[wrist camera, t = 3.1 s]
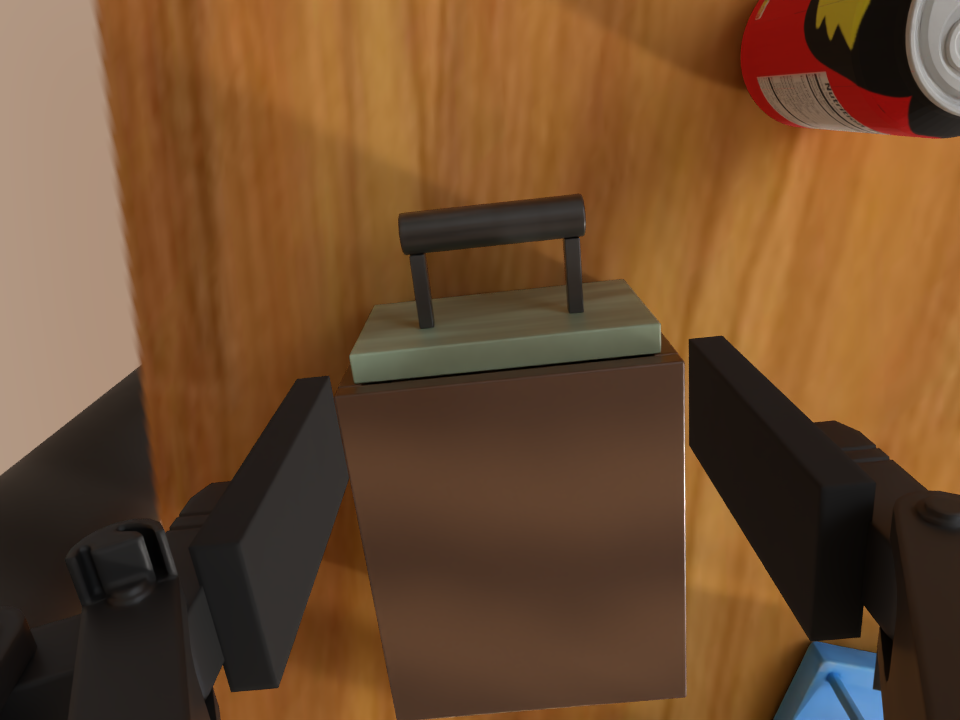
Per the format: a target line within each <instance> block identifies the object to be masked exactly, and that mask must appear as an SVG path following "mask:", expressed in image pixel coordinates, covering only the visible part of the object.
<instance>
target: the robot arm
mask: <svg viewBox="0 0 960 720" xmlns="http://www.w3.org/2000/svg"><path fill="white" fill-rule="evenodd" d="M689 446H690V447H691V449H692V451H693V452H694V454H695V455H696V457H697V459H698V460H699V462H700V463H701V465H702V467H703V468H704V470H705V472H706V473H707V475H708V476H709V478H710V480H711V481H712V483H713V484H714V486H715V488H716V489H717V491H718V493H719V494H720V496H721V497H722V499H723V501H724V502H725V504H726V506H727V507H728V509H729V510H730V512H731V514H732V515H733V517H734V518H735V520H736V522H737V523H738V525H739V527H740V528H741V530H742V531H743V533H744V535H745V536H746V538H747V539H748V541H749V543H750V544H751V546H752V548H753V549H754V551H755V552H756V554H757V556H758V557H759V559H760V560H761V562H762V564H763V565H764V567H765V569H766V570H767V572H768V573H769V575H770V577H771V578H772V580H773V581H774V583H775V585H776V586H777V588H778V590H779V591H780V593H781V594H782V596H783V598H784V599H785V601H786V603H787V604H788V606H789V607H790V609H791V611H792V612H793V614H794V615H795V617H796V619H797V620H798V622H799V624H800V625H801V627H802V628H803V630H804V632H805V633H806V635H807V636H808V638H809V640H810V641H823V640H834V639H846V638H857V637H860V636H861V626H862V617H863V607H864V606H865V607H866V609H867V610H868V611H869V613H870V614H871V615H872V617H873V618H874V619H875V620H876V622H877V623H878V624H879V626H880V628H879V637H878V645H877V654H876V663H875V672H874V681H873V689H874V690H878V691H881V697H882V708H883V718H884V720H960V495H958V494H952V493H947V492H942V491H928V490H927V489H926V488H925V487H923V486H922V485H921V484H920V483H919V482H918V481H917V480H915V479H914V478H913V477H912V476H911V475H910V474H908V473H907V472H906V471H905V470H904V469H903V468H901V467H900V466H899V465H898V464H897V463H896V462H894V461H893V460H890V459H889V456H888V455H886V454H885V453H884V452H883V451H882V450H881V449H879V448H876V445H875V444H874V443H872V442H871V441H870V440H869V439H868V438H867V437H865V436H864V435H863V434H862V433H861V432H860V431H857V430H855V429H853V428H850V427H848V426H846V425H844V424H841V423H839V422H837V421H825V422H815V423H813V422H812V421H811V420H810V419H809V418H808V417H807V416H806V415H805V414H804V413H803V412H802V411H801V410H800V409H798V408H797V407H796V406H795V405H794V404H793V403H792V402H791V401H790V400H789V399H788V398H787V397H786V396H785V395H784V394H783V393H782V392H781V391H780V390H779V389H777V388H776V387H775V386H774V385H773V384H772V383H771V382H770V381H769V380H768V379H767V378H766V377H765V376H764V375H763V374H762V373H761V372H760V371H759V370H758V369H757V368H755V367H754V366H753V365H752V364H751V363H750V362H749V361H748V360H747V359H746V358H745V357H744V356H743V355H742V354H741V353H740V352H739V351H738V350H737V349H736V348H735V347H733V346H732V345H731V344H730V343H729V342H728V341H727V340H726V339H725V338H724V337H723V336H715V337H705V338H695V339H689ZM348 480H349V474H348V469H347V464H346V459H345V454H344V449H343V444H342V439H341V434H340V428H339V423H338V418H337V413H336V408H335V403H334V398H333V393H332V387H331V382H330V377H329V376H322V377H312V378H302V379H297V380H296V381H295V383H294V385H293V386H292V388H291V389H290V391H289V392H288V394H287V395H286V397H285V398H284V400H283V402H282V403H281V405H280V406H279V408H278V409H277V411H276V412H275V414H274V415H273V417H272V419H271V420H270V422H269V423H268V425H267V426H266V428H265V429H264V431H263V432H262V434H261V436H260V437H259V439H258V440H257V442H256V443H255V445H254V446H253V448H252V449H251V451H250V453H249V454H248V456H247V457H246V459H245V460H244V462H243V463H242V465H241V466H240V468H239V470H238V471H237V473H236V474H235V476H234V477H233V479H232V480H231V481H228V482H218V483H211V484H209V485H208V486H207V487H205V488H204V489H203V490H201V491H200V492H199V493H197V494H196V495H194V496H193V497H192V498H191V499H190V500H189V501H188V503H187V504H186V506H185V507H184V508H183V510H182V511H181V512H180V514H179V517H177V518H176V519H175V521H174V522H173V524H172V525H171V526H170V531H167V532H166V533H165V531H164V529H163V527H162V525H161V523H160V522H157V521H155V520H152V519H132V520H127V521H122V522H117V523H114V524H112V525H109V526H107V527H104V528H101V529H99V530H97V531H95V532H93V533H92V534H90V535H88V536H86V537H85V538H83V539H81V540H80V541H79V542H78V543H77V544H76V545H75V546H74V547H72V548H71V549H70V551H69V553H68V554H67V556H66V558H65V562H66V564H67V567H68V570H69V572H70V575H71V578H72V580H73V583H74V586H75V589H76V591H77V594H78V597H79V599H80V602H81V605H82V613H81V614H79V615H76V616H73V617H70V618H66V619H63V620H59V621H56V622H53V623H49V624H46V625H42V626H39V627H35V628H32V629H30V628H29V626H28V623H27V621H26V618H25V616H24V614H23V613H22V611H21V609H19V608H15V607H11V606H2V607H0V720H221V719H220V711H219V706H218V703H217V699H216V696H215V693H214V690H213V685H214V683H215V680H216V678H217V676H218V674H219V672H220V669H221V667H222V665H223V666H224V670H225V673H226V676H227V680H228V683H229V687H230V690H231V692H238V691H250V690H261V689H273V688H278V687H279V684H280V681H281V678H282V675H283V672H284V670H285V667H286V664H287V661H288V658H289V655H290V652H291V649H292V646H293V643H294V640H295V637H296V634H297V631H298V628H299V625H300V622H301V619H302V616H303V613H304V610H305V607H306V604H307V602H308V599H309V596H310V593H311V590H312V587H313V584H314V581H315V578H316V575H317V572H318V569H319V566H320V563H321V560H322V557H323V554H324V551H325V548H326V545H327V542H328V539H329V536H330V534H331V531H332V528H333V525H334V522H335V519H336V516H337V513H338V510H339V507H340V504H341V501H342V498H343V495H344V492H345V489H346V486H347V483H348Z"/></svg>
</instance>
